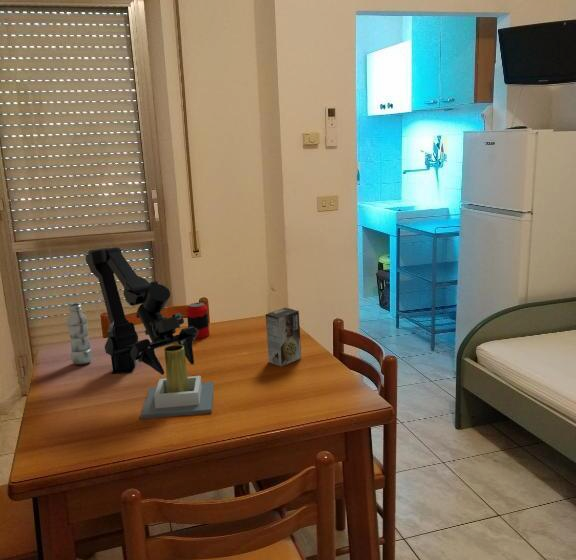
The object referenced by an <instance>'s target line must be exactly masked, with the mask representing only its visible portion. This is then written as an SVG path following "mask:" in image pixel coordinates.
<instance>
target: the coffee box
mask: <svg viewBox="0 0 576 560" xmlns="http://www.w3.org/2000/svg"><path fill="white" fill-rule="evenodd" d="M265 324H266V326H265V327H266V340H267V357H268V358H267V359H268V363H270V364H273V365H276V366H278V367H284V366H286V365H289V364H291V363H293V362H295V361H298V360H301V359H302V344H301V327H300V326H301V325H300V311H299V310H297V309H293V308H290V307H283V308H280V309H277V310H274V311H270V312H269V313H265Z"/></svg>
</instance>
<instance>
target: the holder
mask: <svg viewBox="0 0 576 560" xmlns="http://www.w3.org/2000/svg"><path fill="white" fill-rule="evenodd" d="M187 378H188V385H189V391H187V392H175V393H168V392H167V377H165V378H159V380H158V383H157V386H156V385H155V386H150V388H149V390H148V394H147V396H146V399H145V401H144V405H143V407H142V409H141V414H140V419H141V420H144V419H153V418H155V419H156V418H166V417H177V416H180V417H181V416H189V415H190V416H191V415H201V414H202V415H203V414H212V413H213V403H214V391H215V381H207V382H206V381H205V382H202V377H201V375H195V376H194V375H193V376H187Z"/></svg>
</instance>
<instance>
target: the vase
mask: <svg viewBox="0 0 576 560" xmlns="http://www.w3.org/2000/svg"><path fill="white" fill-rule="evenodd" d="M163 350H164V360H165V361H164V362H165V372H166V378H167V392H168V393H175V392H187V391H189V385H188V378H187V377H188V373H187V372H188V371H187V365H186V364H187V363H186V356H185V350H184V346H183V345H179V344H170V345H166V346H164V349H163Z"/></svg>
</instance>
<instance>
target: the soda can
mask: <svg viewBox="0 0 576 560" xmlns="http://www.w3.org/2000/svg"><path fill="white" fill-rule="evenodd" d="M186 319H187V327H191V326H193V327H195V328H196V329H197V331H198V335H197V336H196V338H195V339H194V340H198V339H199V340H200V339H205V338H208V337H209V335H210V326H209V325H210V324H209V322H210V321H209V313H208V306H207V305H206V304H205V303H204V302H192V303H190V304H188V306H187V308H186Z"/></svg>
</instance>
